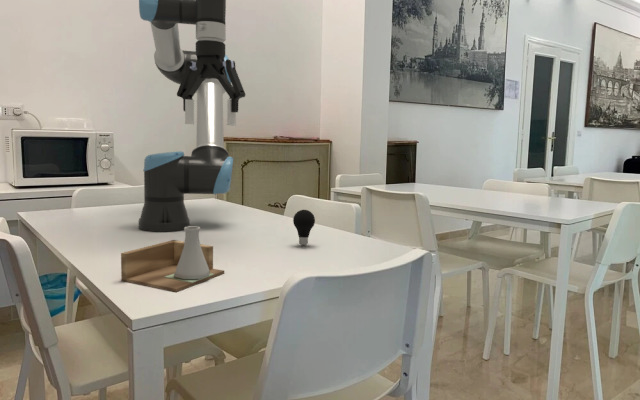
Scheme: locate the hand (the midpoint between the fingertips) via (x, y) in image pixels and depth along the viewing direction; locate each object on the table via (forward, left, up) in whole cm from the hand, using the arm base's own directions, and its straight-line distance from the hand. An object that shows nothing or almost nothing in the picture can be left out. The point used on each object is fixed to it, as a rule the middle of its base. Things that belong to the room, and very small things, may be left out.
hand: (210, 125), depth 132 cm
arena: (+14, -30, -32) cm, 46 cm away
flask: (+18, -29, -31) cm, 46 cm away
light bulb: (+23, +11, -32) cm, 41 cm away
